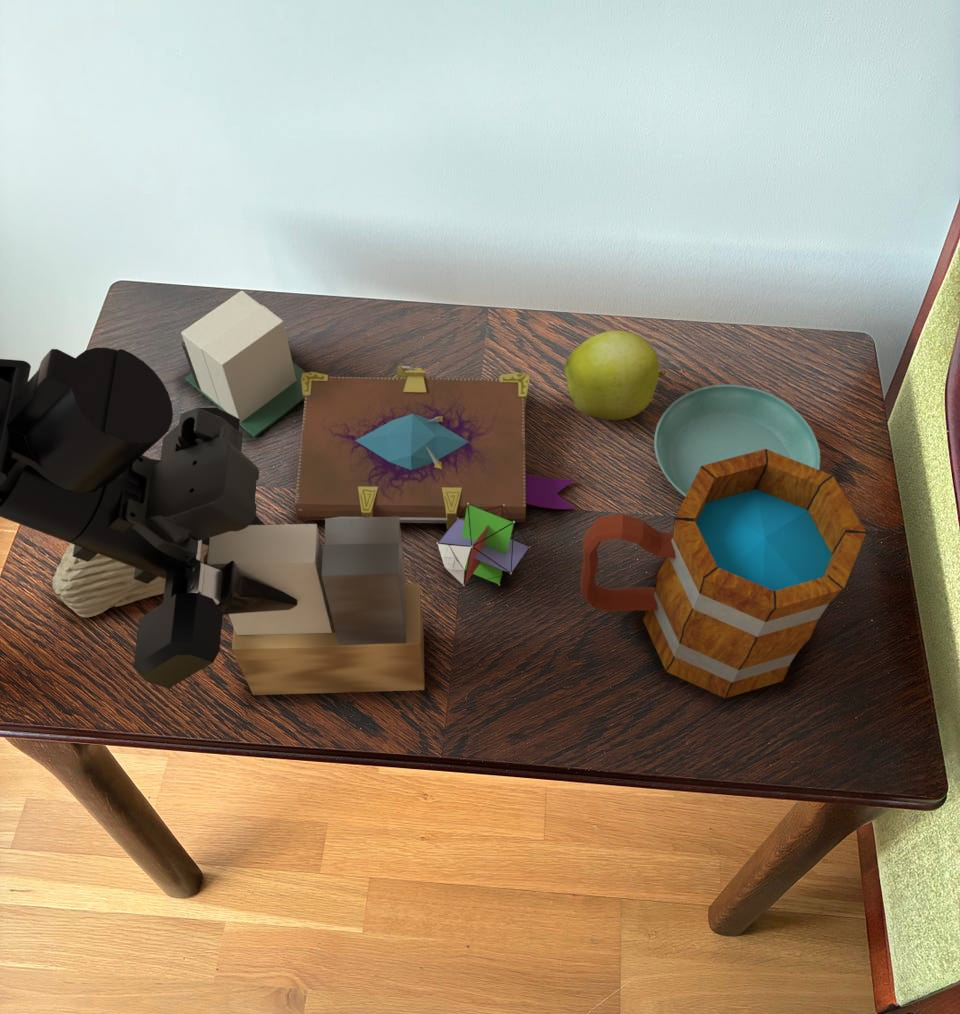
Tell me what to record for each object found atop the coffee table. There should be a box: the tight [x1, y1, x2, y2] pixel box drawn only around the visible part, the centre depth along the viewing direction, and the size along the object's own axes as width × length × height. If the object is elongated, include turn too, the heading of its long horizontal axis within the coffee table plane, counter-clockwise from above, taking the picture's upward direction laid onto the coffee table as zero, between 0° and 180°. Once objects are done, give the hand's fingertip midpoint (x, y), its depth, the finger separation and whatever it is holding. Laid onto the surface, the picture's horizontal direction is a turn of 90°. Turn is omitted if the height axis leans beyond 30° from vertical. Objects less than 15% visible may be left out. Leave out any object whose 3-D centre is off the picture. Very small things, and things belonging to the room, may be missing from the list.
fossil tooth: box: [51, 543, 209, 618], centre depth 82 cm, size 12×6×15 cm
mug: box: [580, 449, 867, 699], centre depth 79 cm, size 20×14×15 cm
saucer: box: [653, 383, 821, 498], centre depth 92 cm, size 15×15×3 cm
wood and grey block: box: [231, 517, 426, 696], centre depth 75 cm, size 14×5×18 cm, turn 92°
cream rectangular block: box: [206, 523, 333, 635], centre depth 71 cm, size 7×3×10 cm, turn 92°
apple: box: [563, 330, 666, 421], centre depth 92 cm, size 8×9×8 cm
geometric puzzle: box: [436, 503, 531, 587], centre depth 85 cm, size 7×7×8 cm
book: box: [294, 362, 576, 531], centre depth 91 cm, size 16×25×5 cm, turn 90°
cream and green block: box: [180, 290, 307, 439], centre depth 93 cm, size 8×10×8 cm
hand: (295, 584), depth 72 cm, fingers closed on cream rectangular block, 3 cm apart
